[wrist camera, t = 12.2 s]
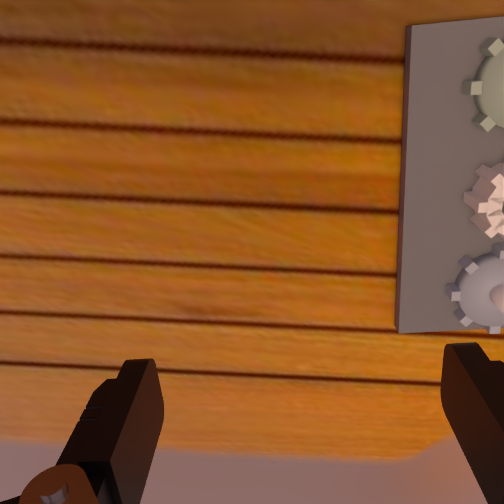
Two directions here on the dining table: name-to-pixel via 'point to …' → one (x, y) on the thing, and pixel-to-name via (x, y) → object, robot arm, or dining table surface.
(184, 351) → the dining table surface
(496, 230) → the gear
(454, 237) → the gear board
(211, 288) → the dining table surface
